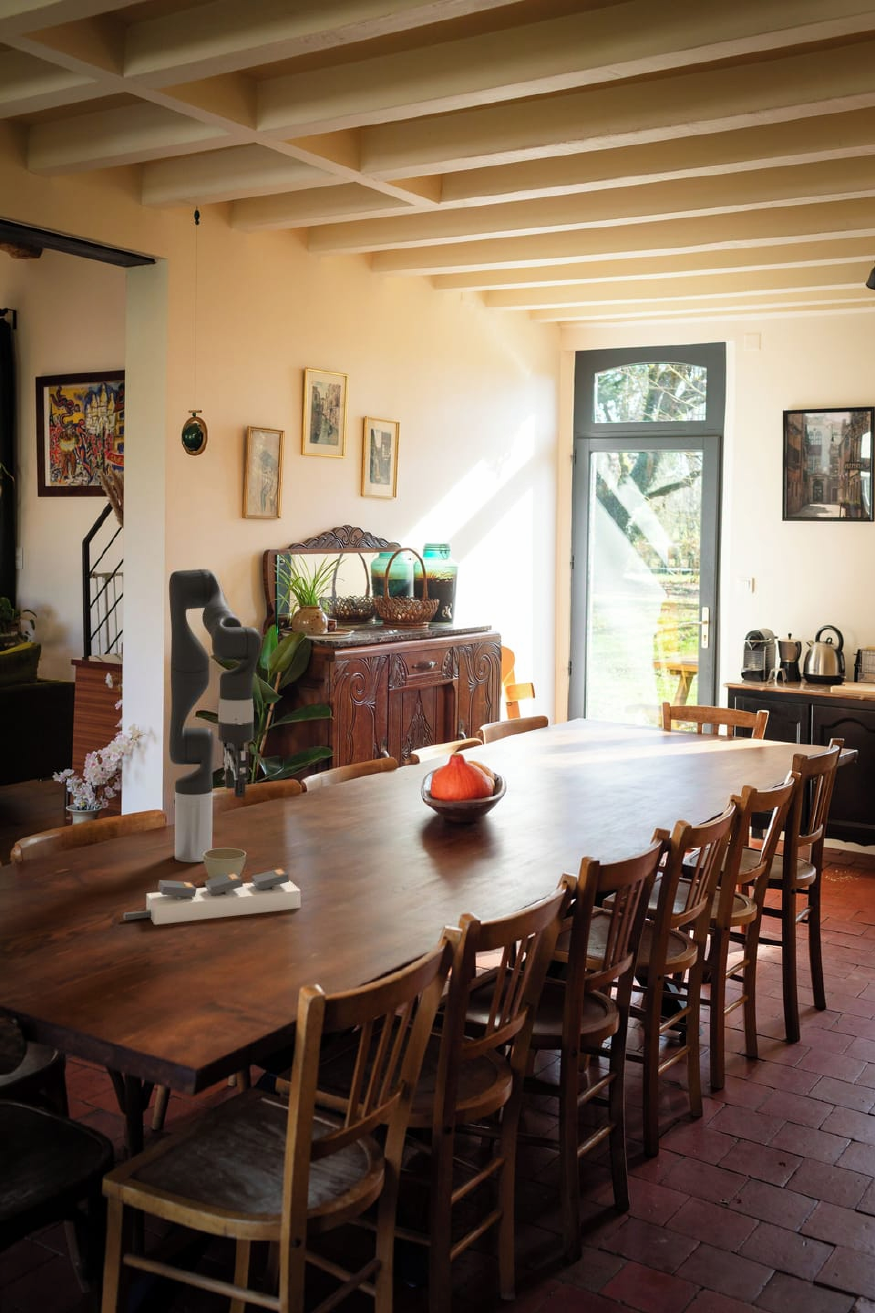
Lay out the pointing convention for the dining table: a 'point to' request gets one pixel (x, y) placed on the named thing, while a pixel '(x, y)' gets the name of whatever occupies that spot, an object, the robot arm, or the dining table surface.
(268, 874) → the block
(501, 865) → the dining table surface
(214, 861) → the flower pot
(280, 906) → the power strip
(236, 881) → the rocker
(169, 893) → the rocker
